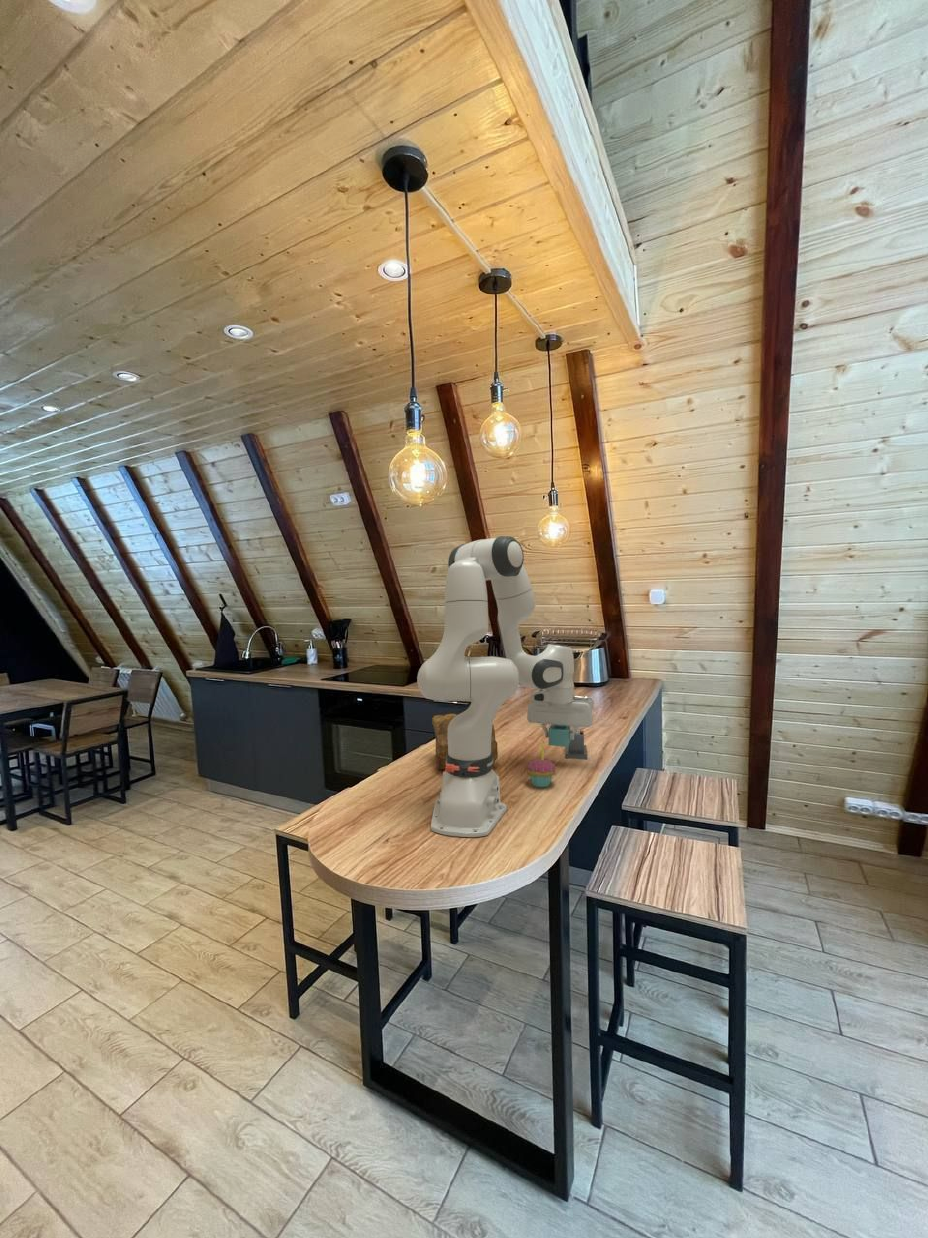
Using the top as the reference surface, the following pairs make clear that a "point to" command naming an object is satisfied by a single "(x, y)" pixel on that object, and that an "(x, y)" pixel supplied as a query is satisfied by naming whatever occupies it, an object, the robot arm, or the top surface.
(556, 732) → the teal hollow box
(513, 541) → the robot arm
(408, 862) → the top surface
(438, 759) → the rough brown rock
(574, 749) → the grey pedestal stand
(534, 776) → the cupcake
